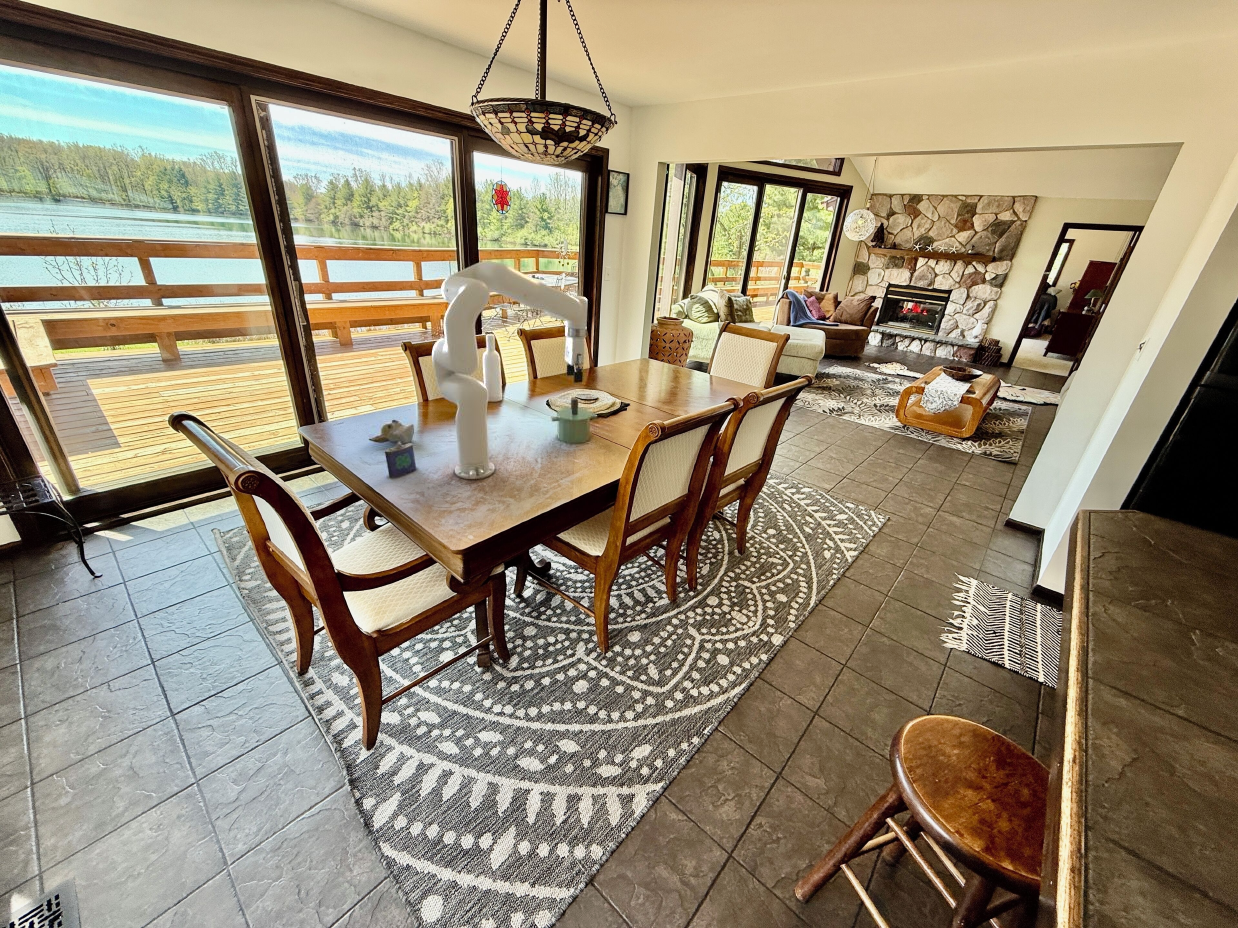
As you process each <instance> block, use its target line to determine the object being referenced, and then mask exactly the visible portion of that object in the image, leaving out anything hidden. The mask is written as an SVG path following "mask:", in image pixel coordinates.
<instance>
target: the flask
mask: <svg viewBox="0 0 1238 928" xmlns="http://www.w3.org/2000/svg"><path fill="white" fill-rule="evenodd" d="M396 443H397V445H395V446H394V447H392V448H391V447H389V448H387V449H386V450H384V454H385V455H384V456H385V460H386V461H385V462H386V466H387V467H386V468H387V471H388V477H389V478H390V479H395V478H399V477H401V476H405V475H406V474H410V473H412V472H414V471H416V470H417V464H416V456H415V450H414V444H413V443H411V442H410V443H407V444H406V443H404V442H402V441H398V442H396ZM403 443H404V444H403Z"/></svg>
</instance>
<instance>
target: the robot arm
mask: <svg viewBox="0 0 1238 928" xmlns="http://www.w3.org/2000/svg"><path fill="white" fill-rule="evenodd" d="M440 290H441V291H440V292H441V295H442V298H443V299H444V301H445V302H446V303H448V304H449V306H448V308H447V310H446V312H445V315H444V318H443V331H444V337H441V338H440V339H437V341H436V342H435V343H434V345H433V347H432V352H431V360H432V366H433V372H434V376H435V381H436V386H437V389H438V392H439V394H440V396H442V398H444V399H445V400H447V401H449V402H451V403H453V404H455V405H457V411H456V414H455V419H454V424H455V433H456V442H457V455H458V464H456V466H455V467H454V473H455V475H456V476H457V477H459V478H461V479H466V480H479V479H483V478H486V477H490V476H491V475H492V474H493V473H494V472H495V465H494V464H493V462H491V461H490V452H489V438H488V437H489V435H488V421H487V419H488V417H487V413H488V412H487V411H488V402H489V401H488V391H487V388H486V387H485V385H484V382H482V381H481V380H479V379H476V378H475V377H472V376H470V375H473V374H474V373H475V372H476V371H477V370H478V369H479V366H480V360H479V359H480V358H479V357H480V356H479V350H478V344H477V337H476V322H477V319H478V317H479V315H480V314H481V312H482V311H483V310H484V309H485V308H486V307H487V305H488V304H489V301H490V298H491V297H490V296H491V293H490V292H492V293H496V294H498V295H501V296H503V297H506V298H508V299H510V300H512V301H514V302H516V303H519V304H520V305H522V306H525V307H529V308H531V309H536V310H538V311H543V312H545V314H546V315H547V316H548V317H550V318H551V319H556V320H561V321H565V329H564V330H565V331H564V334H565V335H564V337H565V347H564V360H565V362H566V376H570V377H571V376H573V383H575V384H576V383H579V384H580V383H583V381H584V380H583V379H584V378H583V377H584V363H585V339H586V337H587V322H588V299H587V298H586V297H585V296H580V295H570V294H568V293H566V292H564V291H562V290H559V289H557V288H555V287H553V286H550V285H548V284H546V283H544V282H541V281H539V280H537V279H535V278H532V277H530V276H529V275H527V274H524V273H523V272H521V271H519V270H517V269H515V268H513V267H511V266H510V265H507V264H505V263H501V262H495V261H487V260H485V261H480V262H477V263H474V264H472V265H471V266H468V267H466V268H464V269H461V270H460V271H457V272H455V273H453V274H451V275H449V276H447V277H446V278H445V279H444V280H443V282H442V284H441V289H440Z"/></svg>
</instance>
